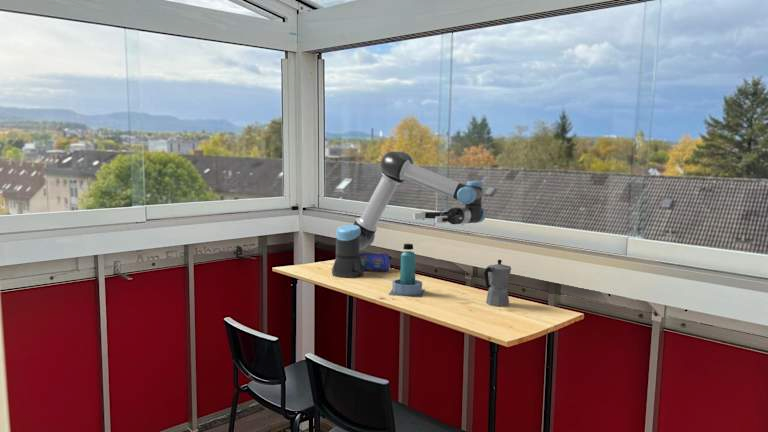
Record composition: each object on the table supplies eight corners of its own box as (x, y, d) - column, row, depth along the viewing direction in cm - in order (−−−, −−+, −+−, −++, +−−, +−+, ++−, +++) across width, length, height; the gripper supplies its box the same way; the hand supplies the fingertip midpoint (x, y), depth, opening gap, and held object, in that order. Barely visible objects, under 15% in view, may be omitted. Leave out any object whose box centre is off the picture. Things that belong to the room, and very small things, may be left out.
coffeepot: (498, 298, 238) (501, 256, 236) (517, 303, 231) (519, 260, 229) (473, 304, 228) (475, 259, 226) (492, 309, 221) (494, 263, 219)
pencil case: (391, 269, 291) (391, 251, 290) (390, 273, 283) (390, 254, 282) (348, 268, 293) (348, 249, 292) (346, 271, 284) (346, 252, 283)
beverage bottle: (413, 292, 240) (415, 245, 238) (398, 291, 241) (399, 244, 239) (416, 289, 246) (417, 243, 244) (400, 287, 248) (402, 242, 246)
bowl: (390, 294, 239) (390, 284, 238) (395, 287, 251) (395, 278, 251) (419, 296, 237) (420, 286, 236) (423, 289, 249) (423, 279, 248)
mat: (388, 295, 238) (388, 294, 238) (393, 287, 252) (393, 287, 252) (421, 298, 236) (421, 297, 236) (425, 290, 250) (425, 289, 250)
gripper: (479, 227, 251) (445, 230, 237) (438, 220, 269) (405, 223, 256) (480, 210, 250) (446, 212, 236) (439, 205, 269) (405, 206, 255)
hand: (424, 218), depth 246 cm, fingers open, 13 cm apart
